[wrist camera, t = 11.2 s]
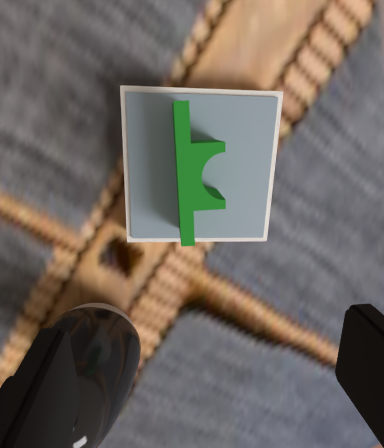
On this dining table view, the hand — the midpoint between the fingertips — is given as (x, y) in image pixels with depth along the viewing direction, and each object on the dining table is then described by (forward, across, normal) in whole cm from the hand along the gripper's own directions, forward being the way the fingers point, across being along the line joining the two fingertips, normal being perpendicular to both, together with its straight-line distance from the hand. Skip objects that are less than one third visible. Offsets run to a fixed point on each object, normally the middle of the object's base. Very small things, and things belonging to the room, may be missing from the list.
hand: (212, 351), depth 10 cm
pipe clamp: (+19, -2, -3) cm, 20 cm away
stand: (+22, -2, -3) cm, 23 cm away
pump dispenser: (+23, +10, +16) cm, 29 cm away
